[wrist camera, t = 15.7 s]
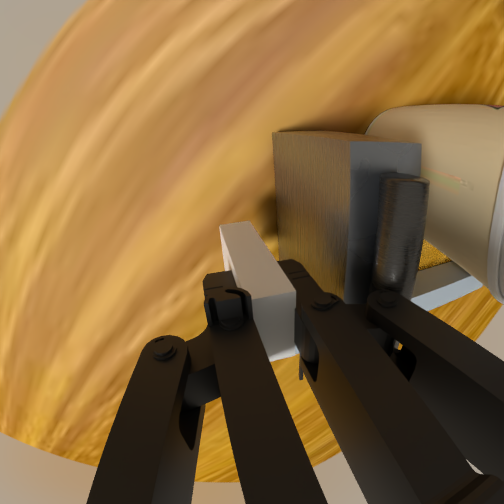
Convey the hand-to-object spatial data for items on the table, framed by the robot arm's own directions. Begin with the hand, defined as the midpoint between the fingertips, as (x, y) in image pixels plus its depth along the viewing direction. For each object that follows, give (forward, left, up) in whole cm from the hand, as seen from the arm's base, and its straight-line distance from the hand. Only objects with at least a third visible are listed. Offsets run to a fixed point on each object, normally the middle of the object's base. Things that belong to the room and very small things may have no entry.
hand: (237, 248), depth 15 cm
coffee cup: (-3, +12, -3) cm, 13 cm away
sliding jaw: (0, +4, -3) cm, 5 cm away
